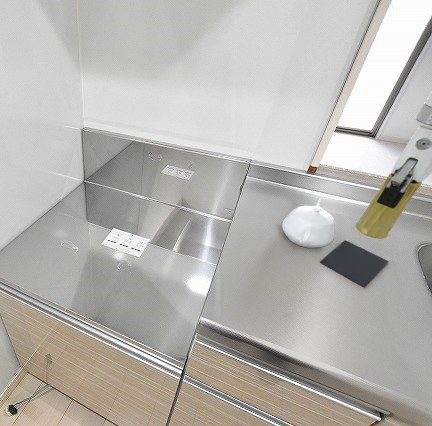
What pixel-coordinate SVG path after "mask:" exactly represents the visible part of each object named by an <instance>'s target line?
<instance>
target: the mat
mask: <svg viewBox="0 0 432 426" xmlns="http://www.w3.org/2000/svg"><path fill="white" fill-rule="evenodd" d="M319 263H320V265H321V264H322V265H323V266H324V267H326V268H329V270H332V271H333V272H335V273H337V274H339V275H340V276H342V277H344V278H346V279H348V280H350V281H351V282H353V283H355V284H357V285H359V286H361V287H362V288H363V289H365V288H366V287H367V286H368V285H370V283H371V282H372V281H373V280H374V278H375V277H376V276H377V275H378V274H379V273H380V272H381V271H382V270H383V269H384V268H385V266H386V265H388V264H389V260H387V259H385V258H383V257H381V256H378V255H377V254H375V253H373V252H370V251H368V250H367V249H364V248H362V247H361V246H359V245H356V244H354V243H352V242H351V241H348V240H346V239H345V240H344V241H342V242H341V243H340V244H339V245H338V246H336V247H335V248H334V249H333V250H332V251H331V252H329V253H328V254H327V255H326V256H325V257H324V258H322V259H321V260H320V261H319Z"/></svg>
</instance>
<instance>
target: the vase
mask: <svg viewBox="0 0 432 426" xmlns="http://www.w3.org/2000/svg"><path fill="white" fill-rule="evenodd" d="M394 175H395V174H394ZM394 175H393V174H392V172H390V173H389V174H388V175H387V177H386V179H385V181H384V182H383V184H382V185H381V187H380V188H379V190H378V191H377V193H376V194H375V196H374V197H373V199H372V201H371V202H370V203H369V205H368V206H367V207H366V209H365V211H364V212H363V214H362V215H361V216H360V218H359V219H358V221H356V223H355V228H356V230H357V231H358V232H359V233H361V234H362V235H364V236H366V237H368V238H369V237H370V238H373V239H377V240H378V239H379V240H383V239H385V238H387V237H388V236H389V233H390V232H391V230H392V229H393V227H394V226H395V224H396V223H397V221H398V220H399V218H400V216H401V215H402V213H403V212H404V211H405V208H406V206H407V205H408V204H409V202H410V200H411V199H412V198H413V196H414V195H415V193H416V192H417V190H418V189H419V188H420V187H421V186H422V184H423V181H422V182H416V180H412V181H411V183H410V184H409V186H408V187H407V188H406V190H405V191H404V192H406V193H405V194H404V196H403V197H402V199H401V200H400V202H399V203H398V205H397V206H396V207H395V208H390V207H387V206H384V205H382V204H379V203H377V200H378V198H379V197H380V195H381V193H382V192H383V190H384V189H385V187H386V186H387V185H388V184H389V182H390V181H391V179H392V178H393V177H394ZM411 176H412V175H411V174H408V175H407V177H410V178H411ZM403 182H404V184H405V183H406V182H407V180H405V179H404V181H403Z"/></svg>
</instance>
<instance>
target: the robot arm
mask: <svg viewBox="0 0 432 426" xmlns="http://www.w3.org/2000/svg"><path fill="white" fill-rule="evenodd" d="M413 122H414V123H415V124H416V125H418V127H417V128H416V129H415V131H414V133H413V134H412V136H411V138H410V139H409V140H408V142H407V144H406V145H405V147H404V148H403V150H402V152H401V153H400V155H399V157H398V158H397V160H396V162H395V163H394V165H393V167H392V169H391V171H390V173H392V174H393V175H394V174H395V175H394V177H393V178H392V179H391V181H390V182H389V184H388V185H387V186H386V187H385V189H384V190H383V192H382V193H381V195H380V197H379V198H378V200H377V203H379V204H382V205H384V206H387V207H390V208H395V207H396V206H397V205H398V203H399V202H400V200H401V199H402V197H403V196H404V194H405V193H406V192H404V191H405V190H406V188H407V187H408V186H409V184H410V183H411V181H412V180H416V182H422V183H423V181H425V180H426V179H427V178H428V177H429V176H430V175H432V90H431V91H430V93H429V95H428V97H427V98H426V100H425V101H424V103H423V105H422V107H421V108H420V110H419V111H418V113H417V115H416V116H415V118H414V119H413ZM408 174H411V175H412V176H411V178H410V177H407V175H408ZM404 179H405V180H407V182H406V183H405V184H404V182H403V181H404Z"/></svg>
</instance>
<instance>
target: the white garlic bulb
mask: <svg viewBox="0 0 432 426" xmlns="http://www.w3.org/2000/svg"><path fill="white" fill-rule="evenodd" d="M321 202H323V198H321V197H318V200H317V202H316V204H315V205H299V206H298V207H295V208H294V209H292V210H291V211H290V212H289V213H288V214H287V216H286V217H285V218H284V219H283V220H282V223H281V224H282V231H283V232H284V234H285V236H286V237H287V239H289V240H290V241H291V242H292V243H293V244H295V245H297V246H300V247H302V248H303V247H304V248H308V249H317V248H323V247H326V246H328V245H330V244H331V243H332V242H333V241H334V240H335V237H336V221H335V219H334V216H333V215H332V214H331V213H330V212H329V211H328V210H325V209H323V208H322V207H321Z"/></svg>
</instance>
